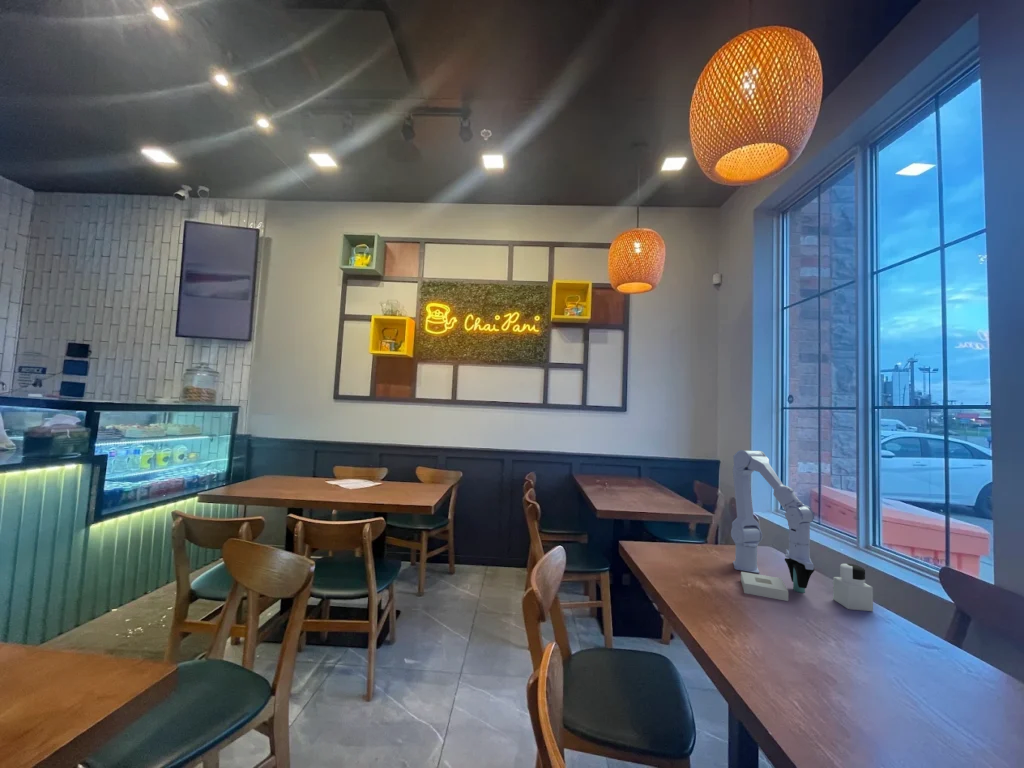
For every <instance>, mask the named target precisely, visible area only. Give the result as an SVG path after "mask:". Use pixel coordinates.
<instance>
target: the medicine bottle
mask: <svg viewBox="0 0 1024 768" xmlns="http://www.w3.org/2000/svg"><path fill="white" fill-rule="evenodd" d="M839 570H840V572H839V576H833V577H832V580H833V581H832V583H833V584H832V585H833V587H832V589H833V591H832V593H833V595H832V596H833V597H832V598H833V601H835V602H837V603H839V605H841V606H843V607H844V608H845V609H847V610H854V611H865V612H874V587H873V586H872V585H869V584H867V583H866V569H864V568H863V567H862V566H860V565H858V564H854V563H848V562H847V563H841V564H840V565H839Z"/></svg>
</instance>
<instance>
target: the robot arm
mask: <svg viewBox="0 0 1024 768" xmlns="http://www.w3.org/2000/svg"><path fill="white" fill-rule="evenodd" d="M732 457H733V467H732V475H733V476H732V477H733V487H734V488H733V489H734V499H735V507H736V508H735V509H736V518H735V519H733V521H732V522H731V530H730V536H731V538H732V540H733V542H734V544H735V558H734V559H735V560H732V563H733V568H734V570H736V571H737V570H738V571H741V572H747V573H753V574H760V570H759V568H758V546H759V543H761V541H762V540H763V532H762V530H761V527H760V523H759V522H758V521H757V520H756V519H755V518H754V517H755V516H754V509H753V499H752V490H751V488H752V487H751V480H750V475H751V474H753V472H758V473H759V474H760V475H761V476H762V478H763V479H764V480H766V482H767V483H768V484H769V485H770V487H771V488H772V489H773V496H774V497H775V499H776V500H777V502H778V503H779V505H780V506H781V507H782V508H783V510H784V516H785V519H786V521H787V526H788V549H787V548H786V549H785V555H784V557H785V558H784V562H785V563H786V565H787V567H788V568H787V569H788V571H789V574H790V580H791V582H792V583H793V568H795V571H796V575H797V582H798V586H799V587H800V588H805V589H807V588H808V585H809V584H808V583H809V581H810V578H811V576H812V575H813V573H814V572H815V567H814V565H815V564H814V563H813V562H812V559H811V558H810V557H811V556H810V555H811V554H810V551H811V550H810V548H811V546H810V543H811V542H810V539H811V538H810V537H811V536H810V535H811V534H810V529H811V523H812V522H814V519H815V515H814V511H813V510H812V508H811V507H810V506H809V505H806V504H804V503H803V501H801V500H800V499H799V498H798V497H797V494H795V490H794V489H793V488H792V487H790V486H788V485H784V484H783V482H782V480H781V479H780V477H779V476H778V475H777V473H776V471H775V470H774V468H773V467H772V465H771V464H770V459H769V457H767V455H766V454H765V452H763V451H762V450H759V449H758V450H744V449H740V450H738V451H737V452H736V453H735V454H734V455H733V456H732Z"/></svg>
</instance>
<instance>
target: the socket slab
mask: <svg viewBox="0 0 1024 768" xmlns="http://www.w3.org/2000/svg"><path fill="white" fill-rule="evenodd" d="M740 582H741V586H742V589H743V593H744V594H748V595H752V596H758V597H764V598H769V599H773V600H779V601H786V602H789V589H788V588H787V586H786V585H785V582H784V581H783V579H782V578H781V577H776V576H775V577H774V576H770V575H765V574H764V575H763V574H759V573H754V572H748V571H741V572H740Z"/></svg>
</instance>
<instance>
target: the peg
mask: <svg viewBox="0 0 1024 768" xmlns="http://www.w3.org/2000/svg"><path fill="white" fill-rule="evenodd" d="M792 583H793V584H792V587H793V588H792V590H793V591H794V592H797V593H799V594H800V593H801V594H805V593H806V588H800V587H799V586H798V582H797V575H796V571H795V568H793V582H792Z"/></svg>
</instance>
